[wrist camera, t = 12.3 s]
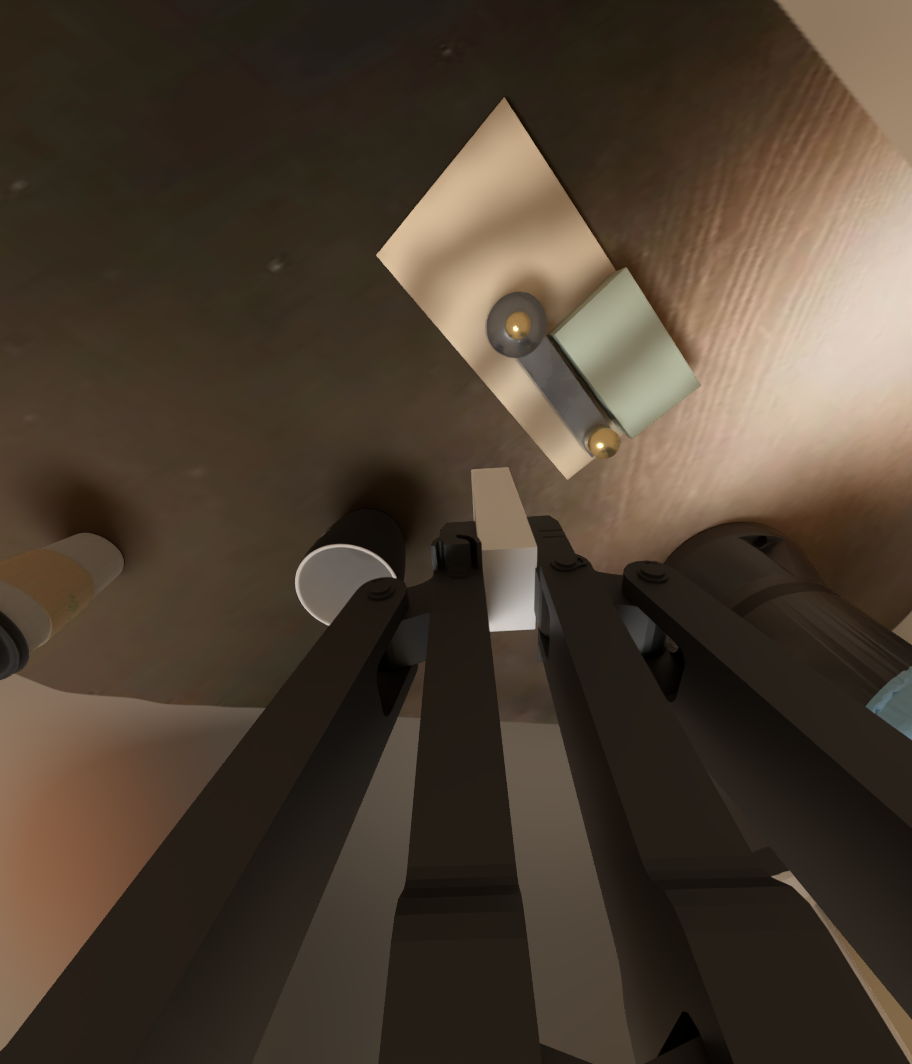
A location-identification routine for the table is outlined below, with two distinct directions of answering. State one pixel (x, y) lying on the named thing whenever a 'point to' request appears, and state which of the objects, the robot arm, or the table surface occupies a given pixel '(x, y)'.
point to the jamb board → (534, 289)
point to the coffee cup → (50, 592)
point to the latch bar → (548, 370)
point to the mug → (349, 561)
